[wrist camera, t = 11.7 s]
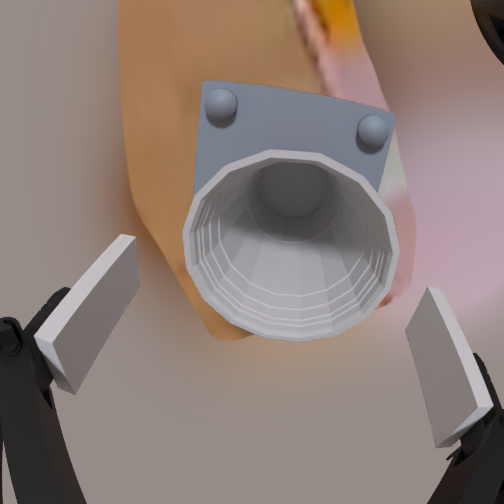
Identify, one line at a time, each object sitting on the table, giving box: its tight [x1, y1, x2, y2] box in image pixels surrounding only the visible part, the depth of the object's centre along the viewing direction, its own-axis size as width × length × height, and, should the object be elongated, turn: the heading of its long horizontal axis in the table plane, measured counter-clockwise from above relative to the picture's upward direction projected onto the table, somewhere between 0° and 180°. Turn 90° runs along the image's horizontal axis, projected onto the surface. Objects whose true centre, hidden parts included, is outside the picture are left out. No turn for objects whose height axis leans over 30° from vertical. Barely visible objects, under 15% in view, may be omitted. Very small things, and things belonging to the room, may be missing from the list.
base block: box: [193, 80, 396, 199], centre depth 27 cm, size 15×15×6 cm
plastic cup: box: [182, 149, 400, 342], centre depth 20 cm, size 11×11×12 cm
